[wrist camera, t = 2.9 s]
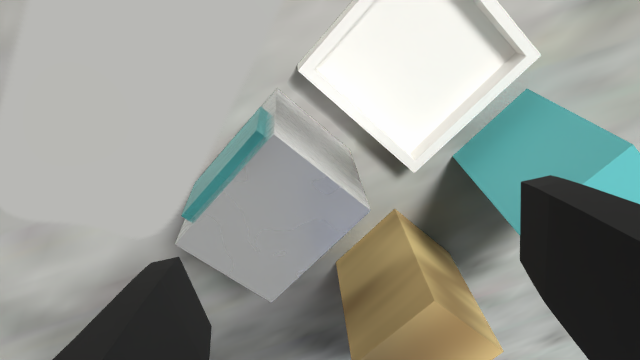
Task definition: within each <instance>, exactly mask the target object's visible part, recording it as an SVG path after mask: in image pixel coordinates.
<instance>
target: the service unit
mask: <svg viewBox="0 0 640 360" xmlns="http://www.w3.org/2000/svg"><path fill="white" fill-rule="evenodd" d="M370 211H371V210H370V207H369V204H368V201H367V198H366V195H365V192H364V189H363V186H362V183H361V180H360V177H359V174H358V171H357V168H356V165H355V163H354V160H353V157H352V154H351V151H350V149H349V148H348V147H347V146H346V145H344V144H343V143H342V142H341V141H340V140H338V139H337V138H336V137H335V136H334V135H332V134H331V133H330V132H329V131H328V130H327V129H325V128H324V127H323V126H322V125H321V124H319V123H318V122H317V121H316V120H315V119H313V118H312V117H311V116H310V115H309V114H308V113H306V112H305V111H304V110H303V109H302V108H300V107H299V106H298V105H297V104H296V103H294V102H293V101H292V100H291V99H290V98H289V97H287V96H286V95H285V94H284V93H283V92H281V91H280V90H279V89H278V88H277V89H276V90H275V91H274V92H273V94H272V95H271V96H270V97H269V98H268V99H267V101H266V102H265V103H264V104H263V105H262V106H261V107H260V108H259V109H258V110H257V111H256V112H255V114H254V115H253V116H252V117H251V118H250V119H249V121H248V122H247V123H246V124H245V125H244V126H243V128H242V129H241V130H240V131H239V132H238V133H237V135H236V136H235V137H234V138H233V139H232V140H231V142H230V143H229V144H228V145H227V146H226V147H225V149H224V150H223V151H222V152H221V153H220V154H219V155H218V157H217V158H216V159H215V160H214V161H213V162H212V164H211V165H210V166H209V167H208V168H207V169H206V171H205V172H204V173H203V174H202V175H201V176H200V178H199V179H198V180H197V181H196V182H195V184H194V187H193V189H192V191H191V194H190V196H189V199H188V201H187V203H186V206H185V208H184V211H183V213H182V215H181V216H182V217H184V218H185V220H184V223H183V225H182V228H181V230H180V233H179V235H178V238H177V240H176V243H175V245H176V246H178V247H180V248H181V249H183V250H185V251H186V252H188V253H190V254H191V255H193V256H195V257H196V258H198V259H200V260H201V261H203V262H205V263H206V264H208V265H210V266H211V267H213V268H215V269H216V270H218V271H220V272H221V273H223V274H224V275H226V276H228V277H229V278H231V279H233V280H234V281H236V282H238V283H239V284H241V285H243V286H244V287H246V288H248V289H249V290H251V291H253V292H254V293H256V294H258V295H259V296H261V297H263V298H264V299H266V300H268V301H269V302H271V303H272V302H273V301H274V300H275V299H276V298H277V297H278V296H279V295H280V294H282V293H283V292H284V291H285V290H286V289H287V288H288V287H289V286H290V285H291V284H292V283H293V282H294V281H296V280H297V279H298V278H299V277H300V276H301V275H302V274H303V273H304V272H305V271H306V270H307V269H308V268H310V267H311V266H312V265H313V264H314V263H315V262H316V261H317V260H318V259H319V258H320V257H321V256H322V255H323V254H325V253H326V252H327V251H328V250H329V249H330V248H331V247H332V246H333V245H334V244H335V243H336V242H337V241H339V240H340V239H341V238H342V237H343V236H344V235H345V234H346V233H347V232H348V231H349V230H350V229H351V228H353V227H354V226H355V225H356V224H357V223H358V222H359V221H360V220H361V219H362V218H363V217H364V216H365V215H367V214H368V213H369V212H370Z"/></svg>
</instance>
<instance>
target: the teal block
mask: <svg viewBox="0 0 640 360" xmlns="http://www.w3.org/2000/svg"><path fill="white" fill-rule="evenodd" d="M453 157H454V159H455V160H456V161H457V162H458V163H459V165H460V166H461V167H462V168H463V169H464V170H465V172H466V173H467V174H468V175H469V176H470V178H471V179H472V180H473V181H474V182H475V183H476V185H477V186H478V187H479V188H480V189H481V190H482V192H483V193H484V194H485V195H486V196H487V198H488V199H489V200H490V201H491V202H492V203H493V205H494V206H495V207H496V208H497V209H498V210H499V212H500V213H501V214H502V215H503V216H504V218H505V219H506V220H507V221H508V222H509V223H510V225H511V226H512V227H513V228H514V229H515V231H516V232H517V233H518V234H519V235H520V208H521V182H522V181H526V180H531V179H535V178H540V177H545V176H549V175H552V176H556V177H560V178H564V179H567V180H570V181H573V182H577V183H580V184H583V185H586V186H589V187H592V188H595V189H597V190H600V191H603V192H606V193H609V194H612V195H615V196H618V197H621V198H623V199H626V200H629V201H632V202H635V203H638V204H640V153H639V152H638V150H637V149H636V148H635V146H634V145H633V144H631V143H629V142H627V141H625V140H623V139H621V138H620V137H618V136H616V135H614V134H612V133H610V132H608V131H606V130H604V129H603V128H601V127H599V126H597V125H595V124H593V123H591V122H589V121H587V120H586V119H584V118H582V117H580V116H578V115H576V114H574V113H572V112H570V111H569V110H567V109H565V108H563V107H561V106H559V105H557V104H555V103H553V102H552V101H550V100H548V99H546V98H544V97H542V96H540V95H538V94H536V93H534V92H533V91H531V90H529V89H526V90H525V91H524V92H523V93H521V94H520V95H519V96H518V97H517V98H516V99H515V100H514V101H513V102H512V103H510V104H509V105H508V106H507V107H506V108H505V109H504V110H503V111H502V112H501V113H499V114H498V115H497V116H496V117H495V118H494V119H493V120H492V121H491V122H490V123H488V124H487V125H486V126H485V127H484V128H483V129H482V130H481V131H480V132H479V133H477V134H476V135H475V136H474V137H473V138H472V139H471V140H470V141H469V142H468V143H466V144H465V145H464V146H463V147H462V148H461V149H460V150H459V151H458V152H457V153H455V154H454V155H453Z"/></svg>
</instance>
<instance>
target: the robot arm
mask: <svg viewBox="0 0 640 360" xmlns="http://www.w3.org/2000/svg"><path fill="white" fill-rule="evenodd" d="M520 261H521V263H522V265H523V267H524V268H525V270H526V272H527V274H528V275H529V277H530V279H531V281H532V282H533V284H534V286H535V287H536V289H537V291H538V292H539V294H540V296H541V297H542V299H543V301H544V302H545V303H546V305H547V306H548V307H549V309H550V310H551V311H552V313H553V314H554V315H555V317H556V318H557V319H558V321H559V322H560V323H561V324H562V326H563V327H564V328H565V330H566V331H567V332H568V334H569V335H570V336H571V337H572V339H573V340H574V341H575V343H576V344H577V345H578V346H579V348H580V349H581V350H582V351H583V353H584V354H585V355H586V357H587V358H588V359H589V360H640V204H638V203H635V202H632V201H629V200H626V199H623V198H621V197H618V196H615V195H612V194H609V193H606V192H603V191H600V190H597V189H595V188H592V187H589V186H586V185H583V184H580V183H577V182H573V181H570V180H567V179H564V178H560V177H556V176H552V175H549V176H545V177H540V178H535V179H531V180H526V181H522V182H521V208H520ZM210 340H211V324H210V322H209V320H208V318H207V316H206V314H205V311H204V309H203V307H202V305H201V303H200V301H199V299H198V296H197V294H196V292H195V290H194V288H193V286H192V284H191V281H190V279H189V277H188V275H187V273H186V271H185V269H184V266H183V264H182V262H181V260H180V258H179V257H176V258H171V259H167V260H162V261H158V262H153V263H151V264H149V265H148V266H147V267H146V268H145V269H144V270H142V271H141V272H140V273H139V274H138V275H137V276H136V277H135V278H134V279H133V280H132V281H131V282H130V283H129V284H128V285H127V286H126V287H125V288H124V289H123V290H122V291H121V292H120V293H119V294H118V295H117V296H116V297H115V298H114V299H113V300H112V301H111V302H110V303H109V304H108V305H107V306H106V307H105V308H104V309H103V310H102V311H101V312H100V313H99V314H98V315H97V316H96V317H95V318H94V319H93V320H92V321H91V322H90V323H89V324H88V325H87V326H86V327H85V328H84V329H83V330H82V331H81V332H80V333H79V334H78V335H77V336H76V337H75V338H74V339H73V340H72V341H71V342H70V343H69V344H68V345H67V346H66V347H65V348H64V349H63V350H62V351H61V352H60V353H59V354H58V355H57V356H56V357H55V358H54V359H53V360H209V354H210Z"/></svg>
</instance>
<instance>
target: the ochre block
mask: <svg viewBox="0 0 640 360" xmlns="http://www.w3.org/2000/svg"><path fill="white" fill-rule="evenodd" d="M336 266H337V272H338V278H339V285H340V291H341V297H342V303H343V310H344V316H345V322H346V328H347V335H348V341H349V347H350V353H351V360H492V359H494V358H495V357H497V356H498V355H500V354H501V353H502V352H504V351H503V349H502V348H501V346H500V344H499V342H498V340H497V339H496V337H495V335H494V333H493V331H492V330H491V328H490V326H489V324H488V322H487V321H486V319H485V317H484V315H483V313H482V312H481V310H480V308H479V306H478V304H477V303H476V301H475V299H474V297H473V295H472V294H471V292H470V290H469V288H468V286H467V284H466V283H465V281H464V279H463V277H462V275H461V274H460V272H459V270H458V268H457V266H456V265H455V263H454V261H453V259H452V257H451V256H450V254H449V252H447V251H446V250H445V249H444V248H442V247H441V246H440V245H439V244H437V243H436V242H435V241H434V240H433V239H431V238H430V237H429V236H428V235H426V234H425V233H424V232H423V231H421V230H420V229H419V228H418V227H417V226H415V225H414V224H413V223H412V222H410V221H409V220H408V219H407V218H406V217H404V216H403V215H402V214H401V213H399V212H398V211H397V210H396V209H394V210H393V211H392V212H391V213H389V214H388V215H387V216H386V217H385V218H384V219H383V220H382V221H381V222H380V223H378V224H377V225H376V226H375V227H374V228H373V229H372V230H371V231H370V232H369V233H368V234H366V235H365V236H364V237H363V238H362V239H361V240H360V241H359V242H358V243H357V244H355V245H354V246H353V247H352V248H351V249H350V250H349V251H348V252H347V253H346V254H344V255H343V256H342V257H341V258H340V259H339V260H338V261H337V262H336Z"/></svg>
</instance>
